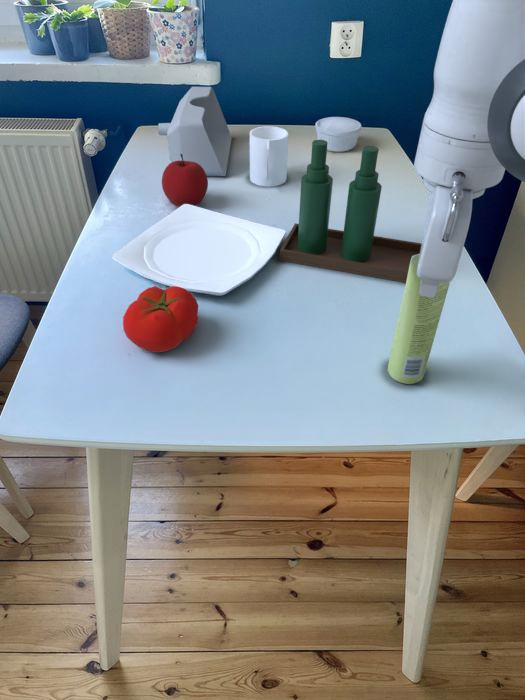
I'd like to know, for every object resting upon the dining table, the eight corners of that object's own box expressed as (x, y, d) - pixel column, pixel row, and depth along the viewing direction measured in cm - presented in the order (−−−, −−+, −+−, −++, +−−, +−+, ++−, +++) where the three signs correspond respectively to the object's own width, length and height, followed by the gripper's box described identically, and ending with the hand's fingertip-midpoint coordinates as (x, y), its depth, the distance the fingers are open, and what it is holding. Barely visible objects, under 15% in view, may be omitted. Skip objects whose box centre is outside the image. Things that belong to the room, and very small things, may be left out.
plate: (294, 242, 100) (295, 229, 98) (226, 313, 84) (225, 299, 82) (184, 212, 108) (183, 199, 107) (103, 271, 92) (100, 257, 90)
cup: (248, 193, 115) (247, 147, 108) (250, 170, 124) (250, 125, 117) (286, 194, 115) (288, 147, 108) (286, 171, 124) (288, 126, 117)
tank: (170, 136, 139) (164, 84, 131) (231, 137, 139) (230, 85, 131) (153, 177, 121) (146, 120, 112) (225, 178, 120) (222, 120, 112)
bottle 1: (328, 242, 99) (339, 138, 86) (322, 257, 95) (332, 150, 82) (301, 238, 100) (307, 134, 87) (294, 252, 96) (299, 146, 84)
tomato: (116, 350, 77) (108, 314, 73) (153, 306, 85) (148, 271, 80) (177, 366, 75) (172, 330, 70) (210, 320, 82) (207, 285, 78)
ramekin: (308, 139, 139) (309, 117, 135) (349, 135, 141) (351, 114, 137) (322, 155, 130) (324, 133, 127) (365, 151, 133) (368, 130, 129)
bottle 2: (372, 250, 97) (389, 144, 84) (367, 265, 93) (385, 157, 81) (344, 245, 98) (356, 140, 85) (338, 260, 94) (350, 152, 82)
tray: (429, 255, 97) (432, 244, 96) (424, 286, 90) (427, 275, 88) (294, 233, 102) (294, 223, 101) (279, 260, 95) (279, 250, 94)
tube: (390, 354, 77) (417, 232, 64) (426, 362, 76) (461, 239, 63) (384, 380, 73) (411, 256, 60) (422, 389, 72) (458, 264, 59)
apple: (157, 210, 109) (151, 162, 102) (173, 191, 115) (168, 144, 109) (200, 216, 107) (197, 167, 101) (214, 196, 114) (212, 149, 107)
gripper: (495, 205, 46) (453, 330, 55) (493, 125, 61) (461, 234, 70) (420, 194, 47) (391, 317, 57) (436, 118, 62) (411, 226, 71)
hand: (430, 271), depth 63 cm, fingers open, 8 cm apart
